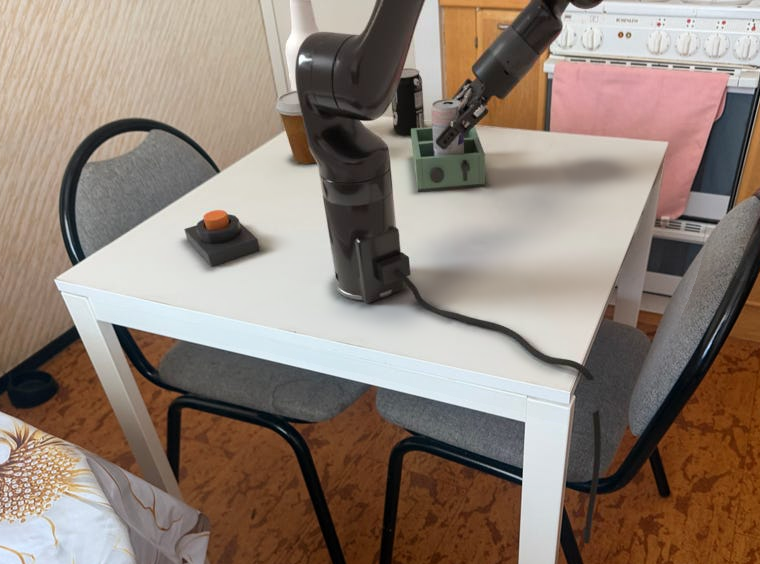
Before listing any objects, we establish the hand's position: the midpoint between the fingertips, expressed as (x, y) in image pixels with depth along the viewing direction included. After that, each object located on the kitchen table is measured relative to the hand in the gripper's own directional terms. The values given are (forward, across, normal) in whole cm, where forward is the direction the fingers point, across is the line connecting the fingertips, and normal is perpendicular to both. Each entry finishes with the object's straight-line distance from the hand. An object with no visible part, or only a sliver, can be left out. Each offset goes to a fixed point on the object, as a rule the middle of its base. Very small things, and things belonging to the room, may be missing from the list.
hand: (438, 139), depth 122 cm
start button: (+28, +18, -23) cm, 41 cm away
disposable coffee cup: (+23, -16, -12) cm, 31 cm away
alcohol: (+22, -28, -11) cm, 37 cm away
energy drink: (+3, 0, +6) cm, 6 cm away
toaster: (+4, -4, +7) cm, 9 cm away
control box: (+31, +18, -20) cm, 41 cm away
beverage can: (+9, -27, +3) cm, 28 cm away
